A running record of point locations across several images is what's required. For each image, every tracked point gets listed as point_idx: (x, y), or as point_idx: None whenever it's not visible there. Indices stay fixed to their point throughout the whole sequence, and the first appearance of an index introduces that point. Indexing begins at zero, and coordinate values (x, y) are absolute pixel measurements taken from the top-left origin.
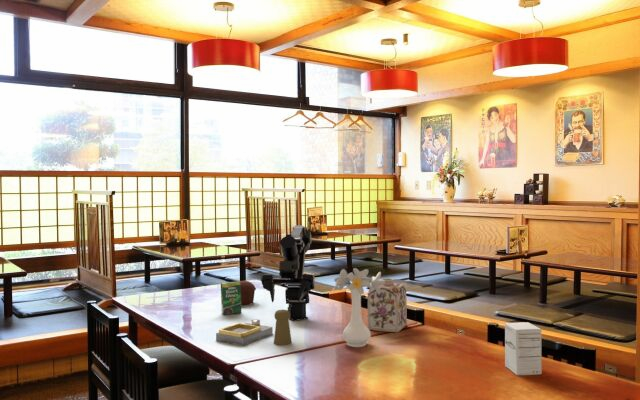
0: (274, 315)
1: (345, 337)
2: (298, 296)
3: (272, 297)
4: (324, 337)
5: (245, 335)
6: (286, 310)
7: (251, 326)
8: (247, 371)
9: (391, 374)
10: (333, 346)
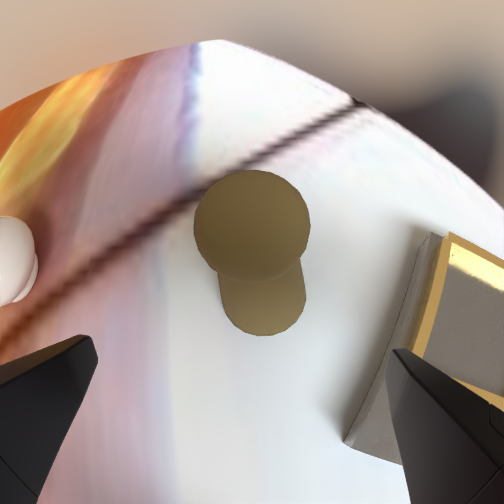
0: (308, 213)
1: (30, 233)
2: (57, 353)
3: (413, 364)
4: None
5: (434, 257)
6: (213, 209)
7: (457, 380)
8: (307, 79)
9: (47, 118)
10: (75, 257)
